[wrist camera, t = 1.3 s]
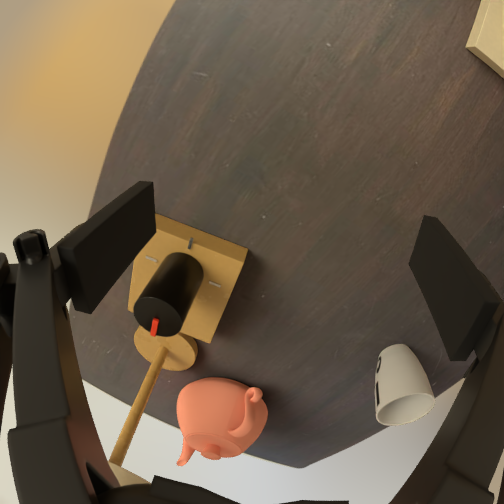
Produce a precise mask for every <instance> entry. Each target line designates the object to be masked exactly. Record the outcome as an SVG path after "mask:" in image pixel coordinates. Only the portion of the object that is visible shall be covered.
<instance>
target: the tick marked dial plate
mask: <svg viewBox="0 0 504 504" xmlns="http://www.w3.org/2000/svg"><path fill="white" fill-rule="evenodd" d="M155 219H156V231H157V232H156V234H155V235H154V236H153V237H152V238H151V239H150V241H149V242H148V243H147V244H146V245H145V247H144V248H143V249H142V250H141V251H140V253H139V254H138V255H137V256H136V257H135V259H134V266H133V273H132V280H131V287H130V295H129V303H128V310H129V311H131V312H133V307H134V304H135V302H136V301H137V299H138V298H139V296H140V294H141V293H142V291H143V290H144V288H145V287H146V285H147V284H148V282H149V281H150V279H151V278H152V276H153V275H154V273H155V272H156V270H157V269H158V267H159V266H160V264H161V263H162V261H163V260H164V258H165V257H166V256H167V255H169V254H171V253H175V252H182V253H186V254H189V255H191V256H192V257H194V258H195V259H196V260H197V261H198V262H199V263H200V265H201V266H202V269H203V272H204V278H203V281H202V283H201V286H200V288H199V290H198V292H197V294H196V297H195V299H194V301H193V303H192V306H191V308H190V310H189V312H188V315H187V317H186V319H185V322H184V324H183V326H182V328H181V330H180V332H181V333H184V334H186V335H189V336H191V337H194V338H197V339H199V340H202V341H204V342H207V343H211V340H212V338H213V335H214V333H215V331H216V328H217V326H218V324H219V321H220V319H221V316H222V314H223V312H224V309H225V307H226V305H227V302H228V300H229V297H230V295H231V293H232V290H233V288H234V286H235V283H236V281H237V279H238V276H239V274H240V271H241V269H242V267H243V264H244V262H245V258H246V255H247V252H248V249H247V248H244V247H242V246H239V245H237V244H234V243H231V242H229V241H226V240H224V239H221V238H219V237H216V236H213V235H211V234H208V233H206V232H203V231H200V230H198V229H195V228H193V227H190V226H187V225H185V224H182V223H180V222H177V221H174V220H172V219H169V218H167V217H164V216H162V215H159V214H156V213H155Z"/></svg>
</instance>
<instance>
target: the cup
mask: <svg viewBox="0 0 504 504" xmlns="http://www.w3.org/2000/svg"><path fill="white" fill-rule="evenodd" d="M375 403H376V419H377V421H378V422H380V423H381V424H384V425H389V426H396V425H403V424H407V423H410V422H413V421H416V420H418V419H420V418H422V417H423V416H425V415H426V414H428V413H429V412H430V411H431V410H432V408H433V407H434V405H435V398H434V395H433V392H432V389H431V386H430V383H429V381H428V378H427V375H426V373H425V371H424V370H423V368H422V366H421V364H420V362H419V360H418V358H417V357H416V356H415V354H414V353H413V352H412V351H411V349H410V348H409V347H408V346H406V345H404V344H395V345H391V346H389V347H387V348H385V349H384V350H383V351H382V352H381V353H380V355H379V358H378V363H377V368H376V379H375Z"/></svg>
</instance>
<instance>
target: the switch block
mask: <svg viewBox="0 0 504 504" xmlns="http://www.w3.org/2000/svg"><path fill="white" fill-rule="evenodd" d="M466 48H467V49H468V50H469V51H471V52H472V53H473V54H475V55H476V56H477V57H478V58H480V59H481V60H482V61H483V62H485V63H486V64H487V65H488V66H490V67H491V68H492V69H493V70H494V71H495V72H497V73H498V74H499V75H500V76H501V77H502V78H503V79H504V0H481V3H480V6H479V9H478V13H477V16H476V19H475V22H474V25H473V27H472V30H471V33H470V36H469V39H468V41H467V44H466Z"/></svg>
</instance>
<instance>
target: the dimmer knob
mask: <svg viewBox="0 0 504 504" xmlns="http://www.w3.org/2000/svg"><path fill="white" fill-rule="evenodd" d="M203 278H204V272H203V269H202V266H201V265H200V263H199V262H198V261H197V260H196V259H195V258H194V257H192V256H191V255H189V254H186V253H182V252H175V253H171V254H169V255H167V256H166V257H165V258H164V260H163V261H162V263H161V264H160V266H159V267H158V269H157V270H156V272H155V273H154V275H153V276H152V278H151V279H150V281H149V282H148V284H147V285H146V287H145V288H144V290H143V291H142V293H141V294H140V296H139V298H138V299H137V301H136V302H135V304H134V307H133V313H134V316H135V318H136V320H137V322H138V323H139V324H140V325H141V326H142V327H143V328H144V329H145V330H147V331H148V332H150V335H151V336H153V337H155V336H156V335H157V336H161V337H171V336H174V335H176V334H178V333H179V332H180V330H181V328H182V326H183V324H184V322H185V319H186V317H187V315H188V312H189V310H190V308H191V306H192V303H193V301H194V299H195V297H196V294H197V292H198V290H199V288H200V286H201V283H202V281H203Z"/></svg>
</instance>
